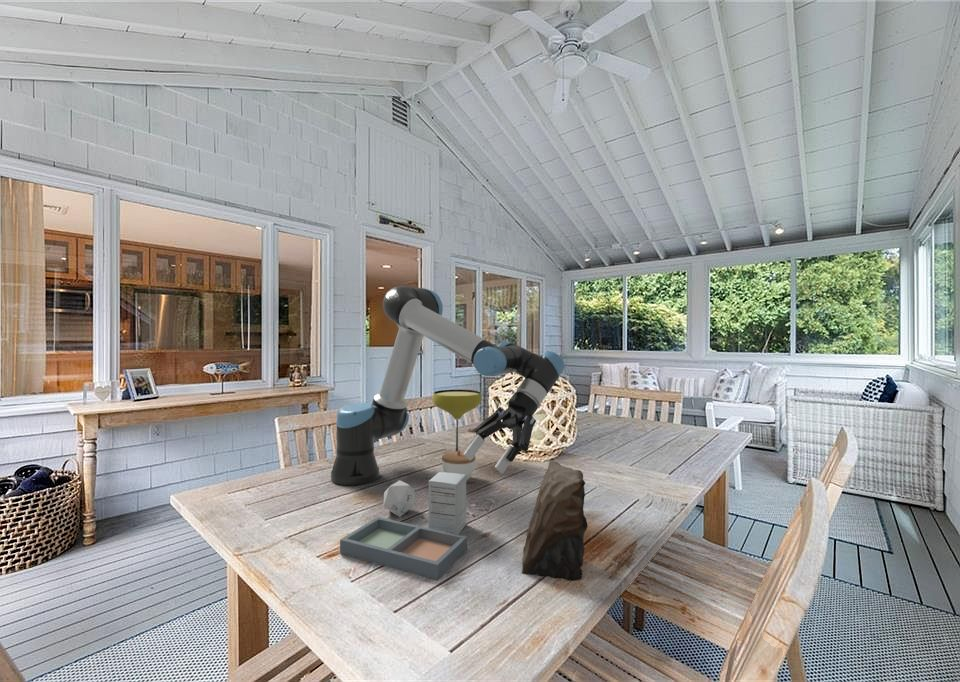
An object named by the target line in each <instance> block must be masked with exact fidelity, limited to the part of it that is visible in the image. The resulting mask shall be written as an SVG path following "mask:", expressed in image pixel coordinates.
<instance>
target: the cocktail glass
mask: <svg viewBox="0 0 960 682" xmlns="http://www.w3.org/2000/svg"><path fill="white" fill-rule="evenodd" d="M432 401H433V404H434V405H435V406H436V407H438V408H439V409H441V410H442V411H444V412H446V413H449V414H450V415H451V416H452V417H453V419H454V420H455V421H456V422H455V423H456V425H455V426H456V427H455V428H456V429H455V430H456V433H455V435H456V436H455V451H454V452H457V451H458V450H459V420H460V419H461V418H462V416H464V415H465V414H466V413H468V412H470V411H472V410H474V409H475V408H477V407H478V406H480V404H481V403H482V392H481V391H478V390H473V389H442V390H436V391H434V392H433V395H432Z"/></svg>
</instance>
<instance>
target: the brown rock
mask: <svg viewBox="0 0 960 682" xmlns="http://www.w3.org/2000/svg"><path fill="white" fill-rule="evenodd" d="M542 479H543V480H542V482H541V484H540V487H539V490H538V494H537V497H536V502H535V507H534V510H533V513H532V516H531V518H530V520H529V525H528V528H527V534H526V539H525V543H524V547H523V552H522V553H523V556H522V563H521V565H522V567H521V568H522V571H521V574H523V575H530V576H537V577H544V578H545V577H546V578H552V579H562V580H564V581H569V582H571V581H573V582H574V581H580V580H582V579H583V575H584V574H583V569H582V567H583V565H584V555H585V550H586V549H585V543H584V535H585V534H586V530H588V527H589V525H588V522H587V518H586V516H585V511H584V505H585V497H586V492H585V485H586V481H585V480H584V473H583V472H582V470H580V469H573V468H572V467H566V466H564V465H561V463H559V462H558V461H554V460H550V461H549V462H548V466H547V469H546V471H545V474H544V476H543V478H542Z"/></svg>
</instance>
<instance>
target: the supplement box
mask: <svg viewBox="0 0 960 682" xmlns="http://www.w3.org/2000/svg"><path fill="white" fill-rule="evenodd" d="M466 525H467V481H466V475H465V474H457V473H447V472H444V471H438V473H436V474H435V475H434V476H433V477H432V478H431V479H429V480H428V528H430V529H435V530H440V531H444V532H449V533H453V534H458V535H460V533H461V532H462V530H463V529H464V528H465V526H466Z"/></svg>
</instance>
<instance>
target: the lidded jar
mask: <svg viewBox="0 0 960 682" xmlns="http://www.w3.org/2000/svg"><path fill="white" fill-rule="evenodd" d="M464 452H465V451H461V450H459V449H458V451H457V452H455V451H450V452H449V451H448V452H445V453H443V455H442V456H441V460H442V462H441V463H442V470H443V471H442V472H447V473H457V474H465V475H466V482H467V481H469V479H470V478H471V477H472V476H473V474H474V471H475V467H476V454H475V455H474V457H473V458H472V460H469V459H468V458H467V457H466V456H465V455H464Z"/></svg>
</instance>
